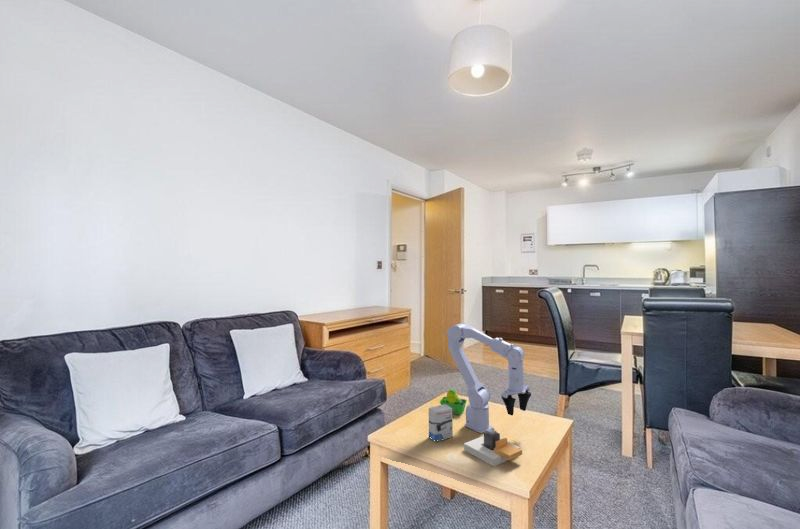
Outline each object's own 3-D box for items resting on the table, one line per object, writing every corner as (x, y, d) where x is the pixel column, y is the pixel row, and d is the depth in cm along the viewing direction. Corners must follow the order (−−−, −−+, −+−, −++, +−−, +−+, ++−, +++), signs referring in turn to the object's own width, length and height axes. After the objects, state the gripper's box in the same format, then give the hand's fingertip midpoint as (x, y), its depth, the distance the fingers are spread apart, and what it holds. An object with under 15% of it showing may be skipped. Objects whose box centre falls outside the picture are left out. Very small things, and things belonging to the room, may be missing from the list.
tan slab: (494, 452, 129) (494, 442, 129) (506, 446, 133) (506, 437, 133) (509, 460, 124) (509, 449, 124) (522, 454, 127) (522, 444, 128)
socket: (464, 450, 136) (463, 443, 136) (490, 440, 144) (490, 433, 144) (493, 466, 125) (493, 459, 125) (520, 454, 133) (520, 447, 133)
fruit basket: (467, 410, 175) (467, 386, 175) (462, 417, 167) (462, 392, 167) (444, 407, 180) (443, 383, 180) (438, 413, 172) (438, 389, 172)
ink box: (435, 442, 143) (434, 411, 143) (428, 437, 147) (427, 407, 147) (453, 437, 147) (452, 407, 147) (446, 432, 151) (445, 403, 151)
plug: (484, 452, 135) (483, 430, 135) (491, 448, 137) (491, 427, 137) (492, 456, 131) (492, 434, 132) (500, 453, 134) (499, 431, 134)
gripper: (512, 383, 140) (512, 419, 140) (536, 376, 148) (536, 411, 148) (497, 379, 146) (498, 414, 146) (521, 373, 154) (522, 406, 154)
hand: (516, 412), depth 147 cm, fingers open, 7 cm apart
